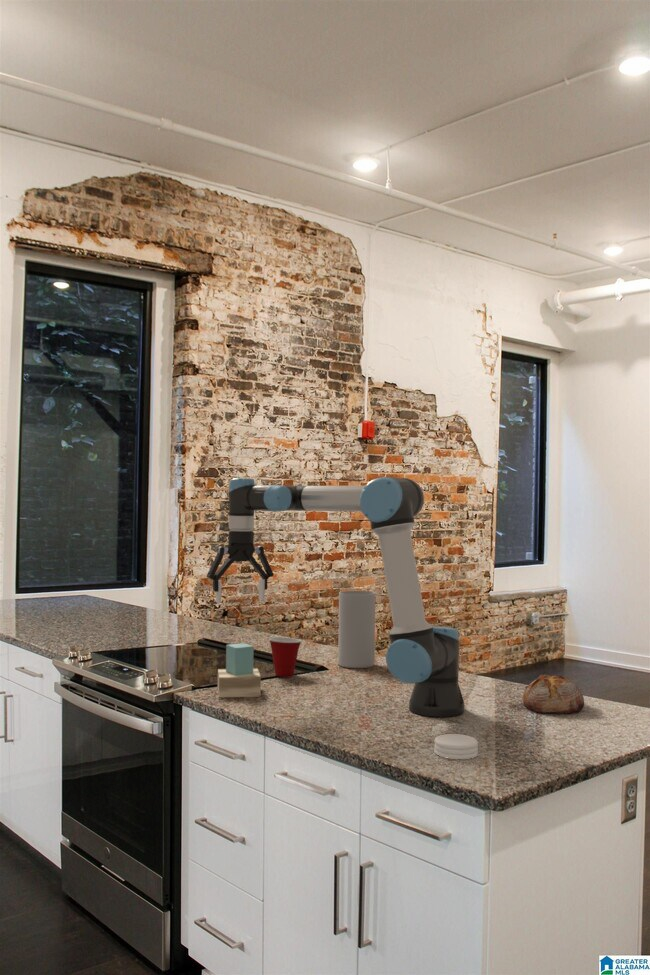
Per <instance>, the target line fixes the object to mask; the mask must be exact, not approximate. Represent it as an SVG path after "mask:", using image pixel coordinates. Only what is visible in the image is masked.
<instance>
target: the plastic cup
mask: <svg viewBox="0 0 650 975" xmlns="http://www.w3.org/2000/svg"><path fill="white" fill-rule="evenodd" d="M268 640H269V643H270V649H271V655H272V662H273V666H274V669H273V670H274V673H275V674H274V675H275V676H276V677H278V678H279V677H280V678H289V677H293V676H294V673H295V669H296V665H297V664H296V663H297V660H298V653H299V649H300V646H301V643H302V642H303V639H299V638H295V637H294V638H293V637H280V636H279V637H276V636H275V637H269V638H268Z"/></svg>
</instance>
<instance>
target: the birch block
mask: <svg viewBox="0 0 650 975" xmlns="http://www.w3.org/2000/svg"><path fill="white" fill-rule="evenodd" d="M261 680H262V678H261V673H260V671H259V669H258V668H255V667H253V673H252V674H243V675H233V674H230V673H228V672H226V668H218V669H217V693H218V698H242V697H243V698H246V697H247V698H252V697H253V698H254V697H257V698H258V697H261V692H262V691H261V688H262V687H261V685H262V684H261V682H262V681H261Z"/></svg>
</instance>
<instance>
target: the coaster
mask: <svg viewBox="0 0 650 975" xmlns="http://www.w3.org/2000/svg"><path fill="white" fill-rule="evenodd" d="M478 745H479V741H478V739H476V737H474V736H470V735H467V734H466V735H465V734H461V733H460V734H459V733H447V734H446V733H445V734H441V735H438V736H436V737H435V738H434V746H433V747H434V749H433V750H434V751H433V752H434V754H435V753H436V754H437V755H440V756H442V757H448V758H453V759H468V760H471V759H470V758H472V759H475V758H476V757H477V756H478V754H479V752H478V750H479V747H478ZM436 754H435V755H436ZM437 755H436V756H437ZM442 757H441V758H442ZM474 757H475V758H474Z"/></svg>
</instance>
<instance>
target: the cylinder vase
mask: <svg viewBox="0 0 650 975" xmlns="http://www.w3.org/2000/svg"><path fill="white" fill-rule="evenodd" d="M337 638H338V639H337V640H338V644H337V645H338V647H337V648H338V649H337V650H338V651H337V653H338V654H337V657H338V658H337V662H338V663H337V664H338V666H340V667H341V668H347V669H368V668H372V667H374V665H375V662H376V660H375V659H376V658H375V657H376V656H375V651H376V641H375V639H376V592H375V591H369V590H343V591H339V592H338V637H337Z"/></svg>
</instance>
